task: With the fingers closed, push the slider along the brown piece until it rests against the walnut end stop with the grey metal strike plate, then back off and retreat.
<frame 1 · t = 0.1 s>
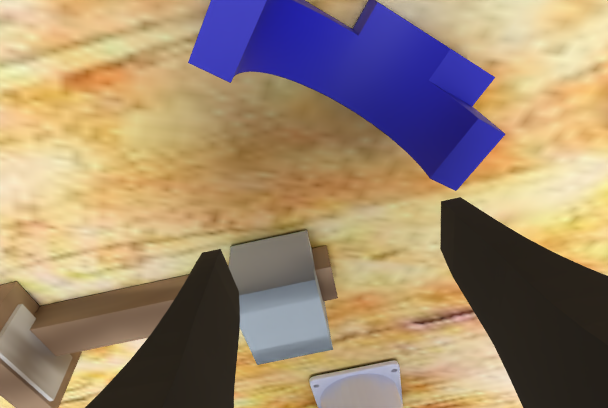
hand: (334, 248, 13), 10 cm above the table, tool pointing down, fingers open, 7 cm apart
slider: (281, 298, 25), point 2 cm above the table, slide at 0.0 cm
cable clip: (342, 42, 19), on the table
brown piece: (189, 291, 27), on the table
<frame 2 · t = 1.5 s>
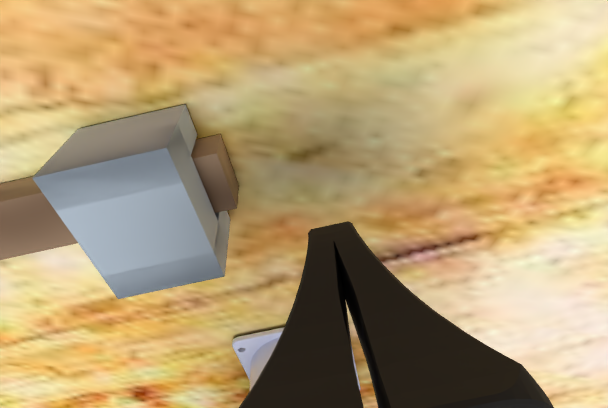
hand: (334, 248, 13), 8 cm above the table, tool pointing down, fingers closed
slider: (151, 202, 18), point 2 cm above the table, slide at 0.0 cm
brown piece: (37, 204, 20), on the table
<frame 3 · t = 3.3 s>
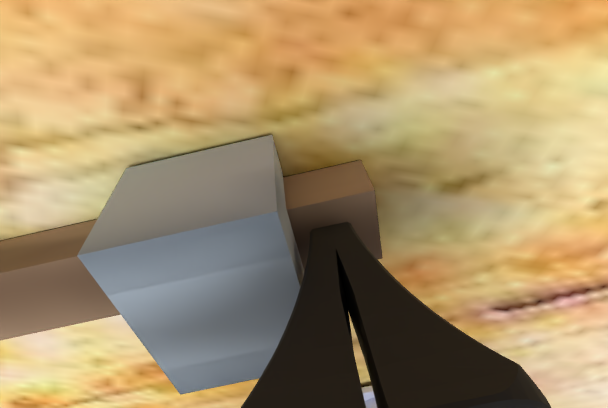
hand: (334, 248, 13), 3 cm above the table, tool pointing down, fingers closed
slider: (225, 266, 13), point 2 cm above the table, slide at 1.8 cm, touching gripper
brown piece: (112, 249, 15), on the table
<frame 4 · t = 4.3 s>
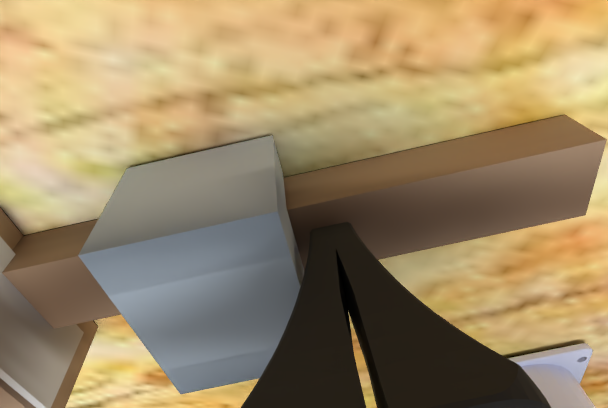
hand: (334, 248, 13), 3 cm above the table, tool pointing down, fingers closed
slider: (225, 267, 13), point 2 cm above the table, slide at 9.1 cm, touching gripper
brown piece: (295, 209, 15), on the table
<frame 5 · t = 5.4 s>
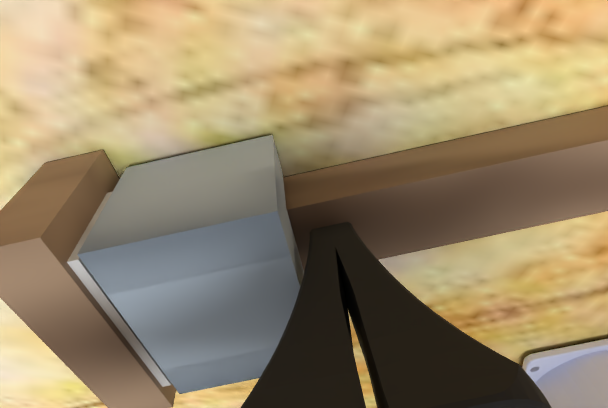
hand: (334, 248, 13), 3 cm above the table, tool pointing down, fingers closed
slider: (225, 266, 13), point 2 cm above the table, slide at 13.5 cm, touching gripper
brown piece: (408, 184, 15), on the table
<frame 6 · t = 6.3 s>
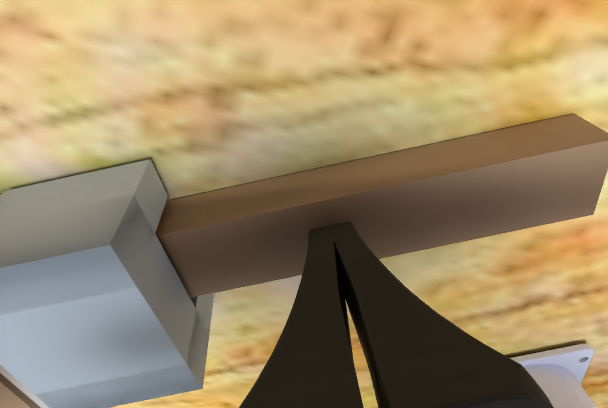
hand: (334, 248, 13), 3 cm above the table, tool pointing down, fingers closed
slider: (104, 290, 13), point 2 cm above the table, slide at 13.5 cm
brown piece: (302, 206, 15), on the table
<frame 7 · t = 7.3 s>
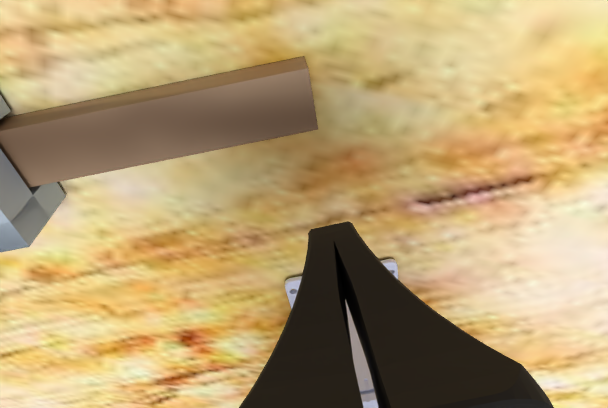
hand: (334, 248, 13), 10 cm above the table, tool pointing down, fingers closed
brown piece: (118, 125, 20), on the table
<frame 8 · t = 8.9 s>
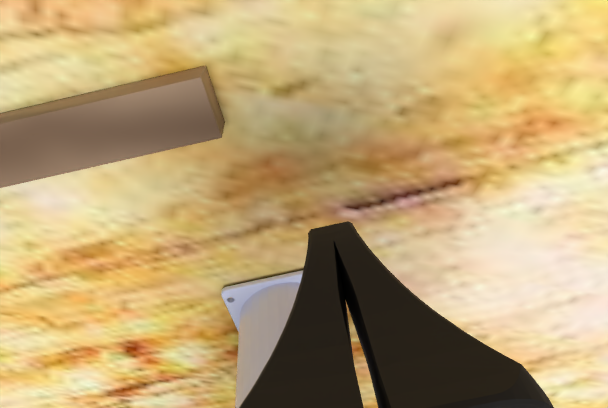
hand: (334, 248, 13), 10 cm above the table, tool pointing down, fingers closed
brown piece: (28, 138, 20), on the table
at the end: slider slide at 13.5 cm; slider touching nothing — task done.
